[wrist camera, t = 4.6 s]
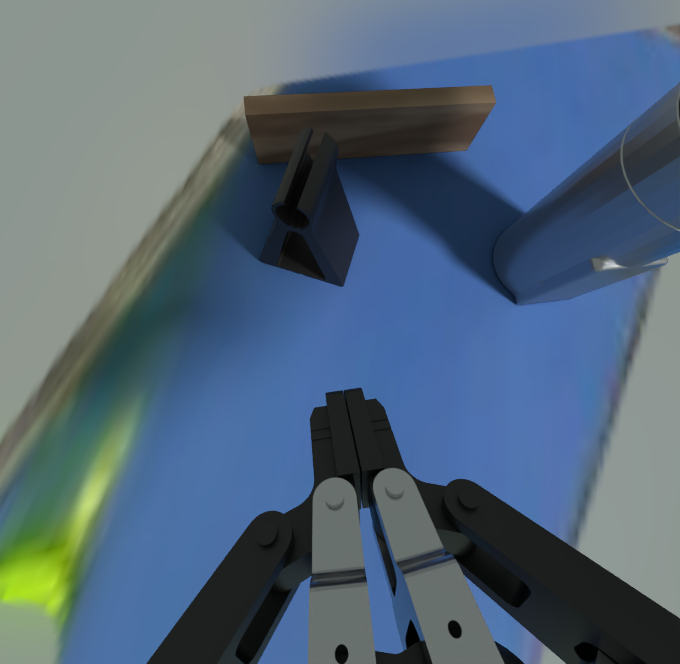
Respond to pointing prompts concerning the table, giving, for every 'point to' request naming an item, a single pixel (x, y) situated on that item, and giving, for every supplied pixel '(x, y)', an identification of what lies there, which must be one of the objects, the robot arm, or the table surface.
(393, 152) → the board
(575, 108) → the table surface
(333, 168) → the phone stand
